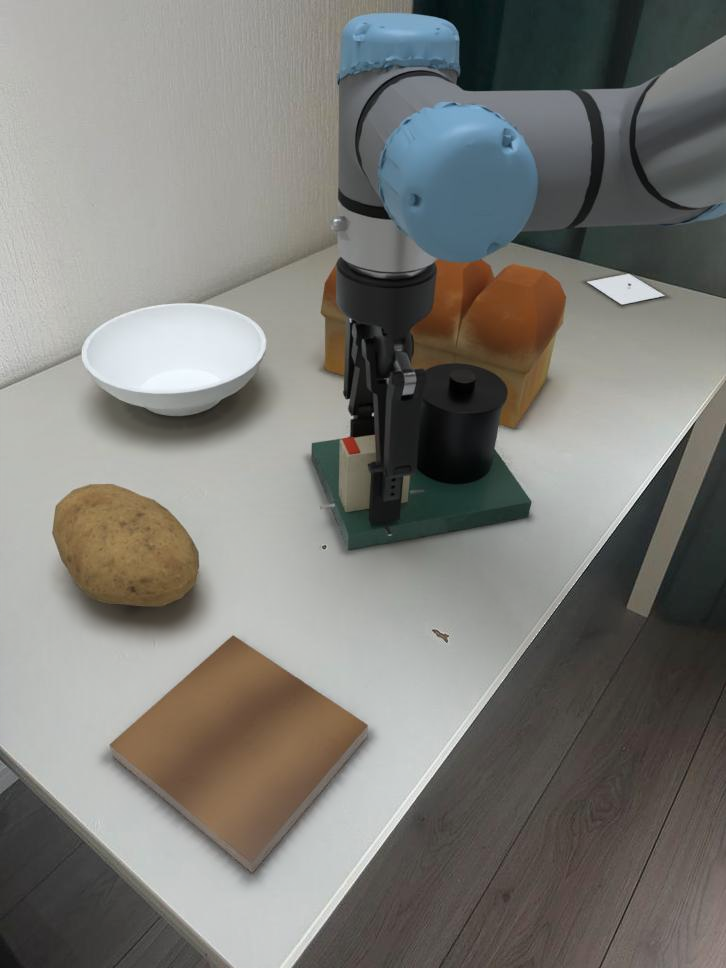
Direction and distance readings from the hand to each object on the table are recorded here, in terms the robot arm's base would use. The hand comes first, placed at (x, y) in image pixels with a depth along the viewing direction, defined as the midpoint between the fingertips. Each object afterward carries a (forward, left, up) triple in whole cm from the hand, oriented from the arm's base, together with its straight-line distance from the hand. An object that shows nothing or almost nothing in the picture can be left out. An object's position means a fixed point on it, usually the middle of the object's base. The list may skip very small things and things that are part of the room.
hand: (373, 496), depth 72 cm
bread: (+23, -15, -3) cm, 27 cm away
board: (-21, +16, -2) cm, 26 cm away
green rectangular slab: (+3, -5, -2) cm, 7 cm away
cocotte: (+4, -9, 0) cm, 10 cm away
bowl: (+25, +15, -3) cm, 29 cm away
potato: (-3, +22, -3) cm, 22 cm away
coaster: (+39, -51, -2) cm, 64 cm away
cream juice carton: (0, 0, 0) cm, 0 cm away
